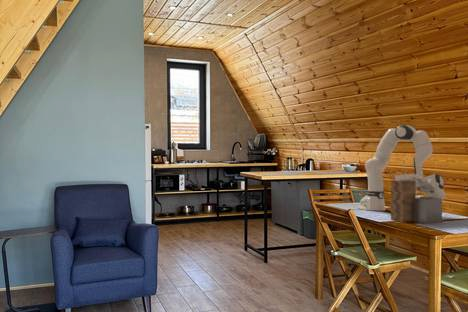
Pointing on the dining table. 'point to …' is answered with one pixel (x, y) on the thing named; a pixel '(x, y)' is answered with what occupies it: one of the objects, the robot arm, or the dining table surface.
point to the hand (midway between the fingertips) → (414, 177)
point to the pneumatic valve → (419, 196)
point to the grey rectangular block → (407, 177)
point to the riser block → (427, 210)
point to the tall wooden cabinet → (402, 200)
